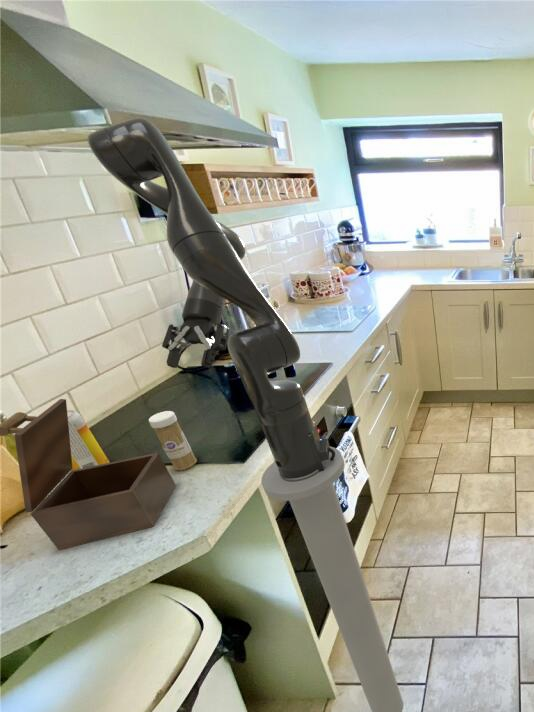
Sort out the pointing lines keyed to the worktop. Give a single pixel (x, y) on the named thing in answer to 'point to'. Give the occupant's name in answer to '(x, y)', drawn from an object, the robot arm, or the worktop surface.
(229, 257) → the robot arm
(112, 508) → the chest
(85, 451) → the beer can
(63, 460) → the chest lid
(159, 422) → the sprinkles bottle
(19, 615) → the worktop surface
